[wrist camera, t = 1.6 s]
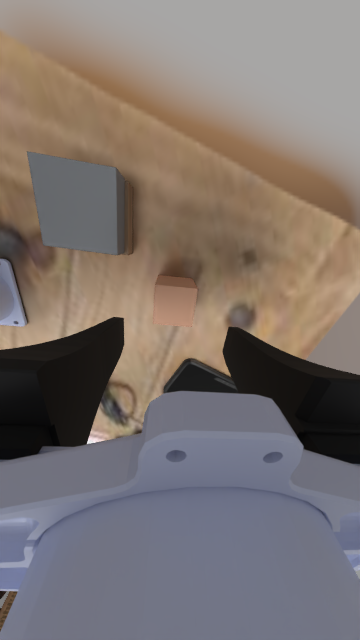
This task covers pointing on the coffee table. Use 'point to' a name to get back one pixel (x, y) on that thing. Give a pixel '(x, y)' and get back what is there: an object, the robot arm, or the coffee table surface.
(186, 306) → the terracotta block
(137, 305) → the coffee table surface
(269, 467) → the robot arm
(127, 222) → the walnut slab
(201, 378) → the phone
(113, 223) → the charcoal slab
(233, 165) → the coffee table surface
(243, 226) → the coffee table surface
